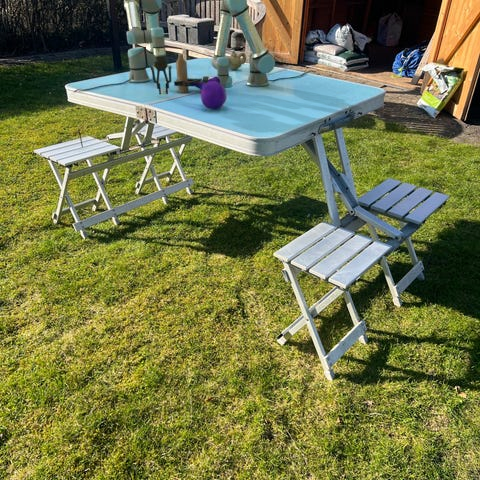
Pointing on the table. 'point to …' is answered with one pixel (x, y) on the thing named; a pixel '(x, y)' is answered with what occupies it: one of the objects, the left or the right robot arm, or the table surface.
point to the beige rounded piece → (236, 60)
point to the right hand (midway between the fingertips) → (175, 82)
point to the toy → (211, 93)
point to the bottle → (182, 73)
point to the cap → (163, 91)
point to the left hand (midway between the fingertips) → (163, 93)
